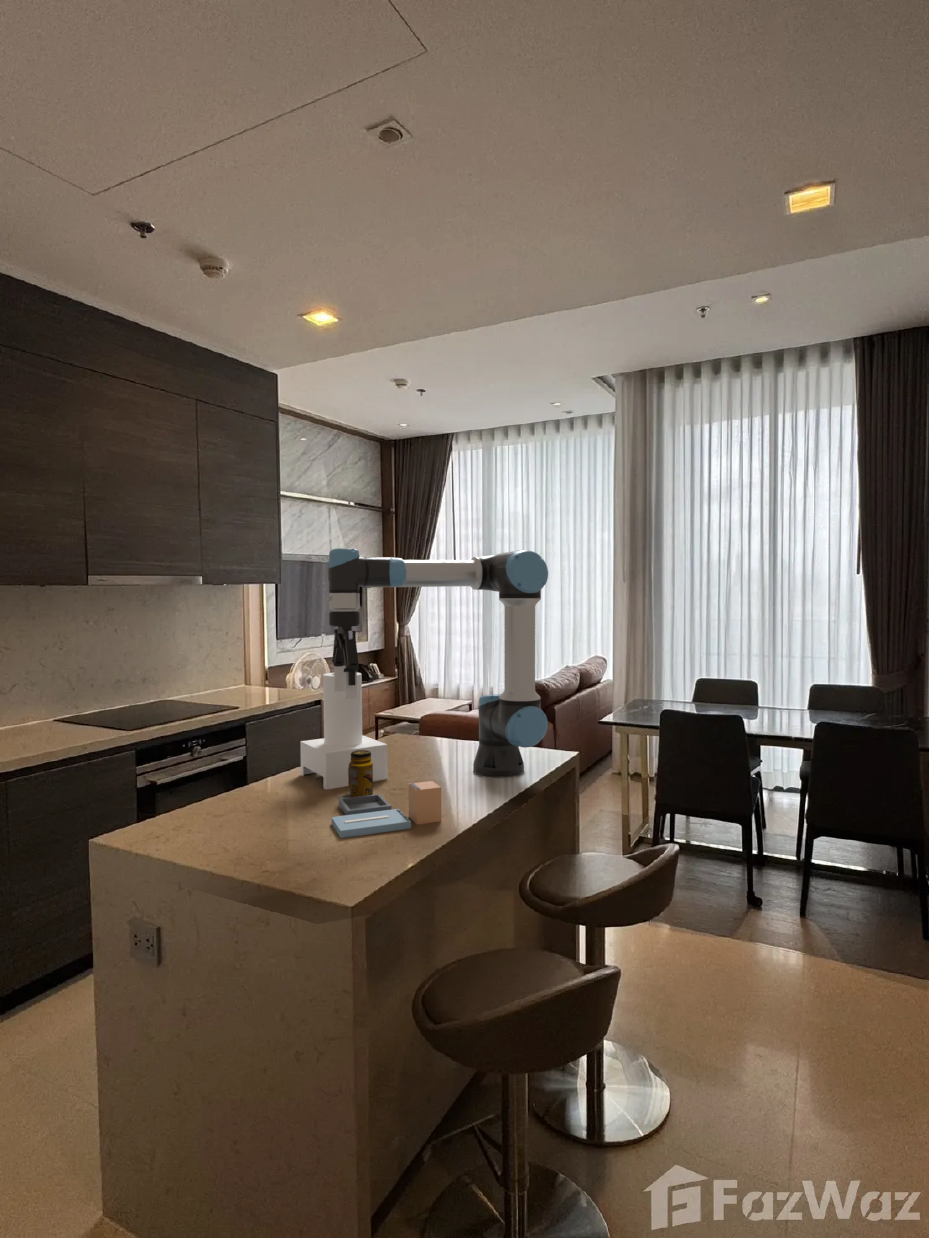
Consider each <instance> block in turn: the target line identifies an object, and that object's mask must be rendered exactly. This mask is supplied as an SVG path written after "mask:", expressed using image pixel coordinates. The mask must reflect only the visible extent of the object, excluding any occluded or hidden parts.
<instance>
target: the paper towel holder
mask: <svg viewBox="0 0 929 1238" xmlns="http://www.w3.org/2000/svg"><path fill="white" fill-rule="evenodd" d="M362 675H363V674H362V673H361V672H357V698H355V699H345V691H341V692H334V672H328V673H327V672H326V673H323V678H322V680H323V681H322V682H323V736H324V737H323V738H317V739H308V740H301V741H300V776H302V777H304V775H310V774H315V773H316V774H318V775H319V776H321V777H323V779H322V780H323V789H324V790H327V791H328V790H332V789H337V788H338V789H339V788H344V787H350V782H349V764H350V762H351V753H352V752H353V751H357V750H368V751H370V752H371V761H372V763H373V782H379V781H383V780H388V778H389V777H388V776H389V774H388V771H389V770H388V768H389V767H388V764H389V763H388V744H387V743H384V742H381V741H379V740H376V739H374V738H371V737H369V736H365V735H364V734H363V688H362V685H363V683H362V682H363V681H362V680H363V678H362Z"/></svg>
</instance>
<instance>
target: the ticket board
mask: <svg viewBox="0 0 929 1238" xmlns="http://www.w3.org/2000/svg"><path fill="white" fill-rule="evenodd" d="M330 819H331V826H332V827H333V829H334V830H335V832H336V834H338V836H339V838H340V839H344V838H351V837H357V836H358V837H360V836H366V835H373V834H378V833H379V834H381V833H387V832H394V831H401V830H409V829H412V821H411V819H410V817H409V816H407V815H406V814H405V813H404V812H403V811H402V810H401V809H400V808H391V810H384V811H376V812H368V813H360V814H352V815H339V816H338V815H337V816H331V818H330Z"/></svg>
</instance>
